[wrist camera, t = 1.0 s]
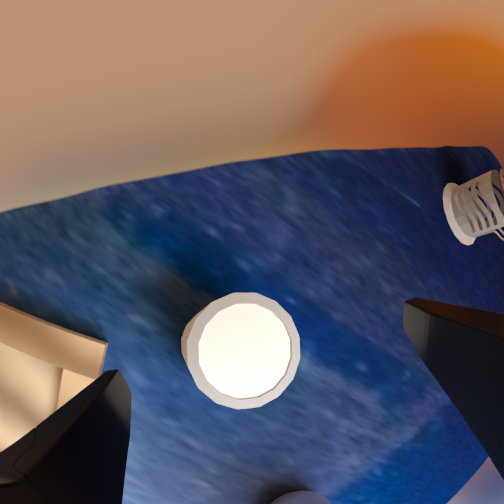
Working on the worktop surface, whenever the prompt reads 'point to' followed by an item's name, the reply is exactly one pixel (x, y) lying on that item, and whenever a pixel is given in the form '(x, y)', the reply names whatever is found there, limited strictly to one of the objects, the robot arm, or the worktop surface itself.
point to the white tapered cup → (241, 350)
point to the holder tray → (40, 370)
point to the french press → (475, 207)
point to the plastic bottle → (301, 498)
